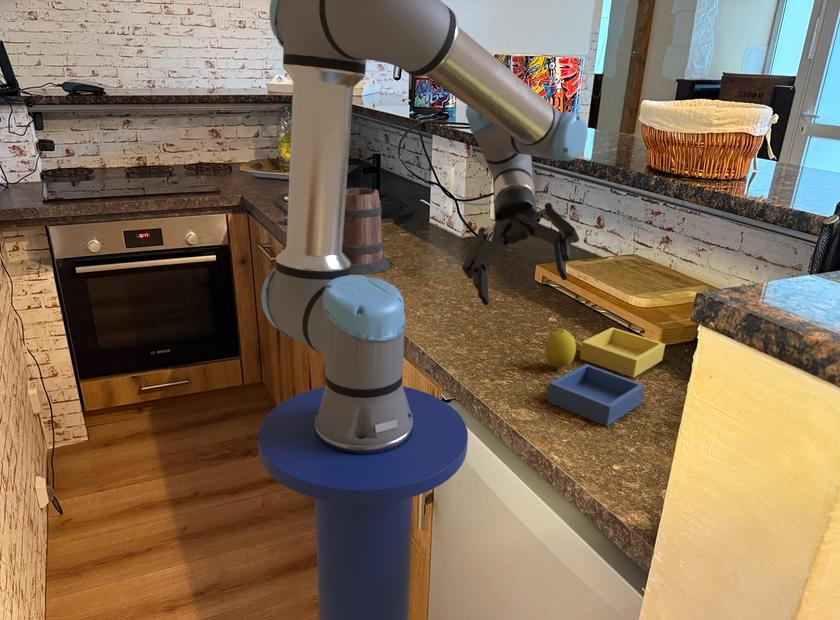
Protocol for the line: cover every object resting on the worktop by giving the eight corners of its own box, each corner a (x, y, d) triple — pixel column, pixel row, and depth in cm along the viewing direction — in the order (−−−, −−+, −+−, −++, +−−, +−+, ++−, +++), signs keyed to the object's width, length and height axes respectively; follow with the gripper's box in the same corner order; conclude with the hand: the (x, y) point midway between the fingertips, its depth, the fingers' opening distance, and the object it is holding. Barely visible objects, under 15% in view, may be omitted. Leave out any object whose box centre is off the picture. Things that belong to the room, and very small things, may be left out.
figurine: (282, 225, 224) (281, 207, 222) (284, 222, 228) (283, 204, 226) (299, 225, 225) (298, 207, 222) (299, 222, 229) (299, 204, 226)
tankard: (393, 273, 180) (394, 197, 172) (329, 274, 178) (327, 197, 169) (383, 249, 201) (384, 180, 193) (326, 250, 199) (324, 180, 190)
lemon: (575, 375, 126) (581, 335, 123) (545, 374, 126) (550, 334, 123) (569, 363, 131) (575, 324, 128) (541, 362, 131) (545, 323, 128)
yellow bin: (579, 358, 133) (581, 341, 132) (609, 343, 141) (612, 327, 140) (633, 377, 126) (636, 360, 125) (662, 360, 134) (665, 343, 132)
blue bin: (546, 401, 116) (549, 382, 115) (582, 381, 124) (585, 363, 123) (606, 426, 109) (610, 407, 108) (641, 403, 117) (645, 385, 115)
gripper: (588, 192, 121) (604, 278, 108) (461, 239, 131) (462, 322, 118) (575, 161, 116) (590, 246, 103) (444, 212, 126) (443, 296, 113)
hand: (521, 287), depth 110 cm, fingers open, 13 cm apart
